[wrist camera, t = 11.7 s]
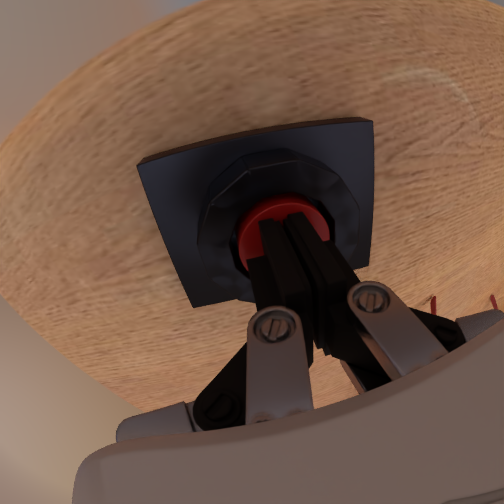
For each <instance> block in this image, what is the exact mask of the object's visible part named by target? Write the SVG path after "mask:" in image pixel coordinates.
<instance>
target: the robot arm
mask: <svg viewBox="0 0 504 504" xmlns="http://www.w3.org/2000/svg"><path fill="white" fill-rule="evenodd" d="M258 225H259V230H260V236H261V241H262V246H263V252H264V255H263V256H259V257H255V258H250V259H246V262H247V267H248V271H249V276H250V280H251V285H252V289H253V294H254V298H255V303H256V307H257V313H255V314H254V315H253V316H252V317H251V319H250V321H249V323H248V327H247V342H246V343H245V344H244V345H243V347H242V348H241V349H240V350H239V351H238V352H237V353H236V355H235V356H234V357H233V358H232V359H231V360H230V361H229V362H228V364H227V365H226V366H225V367H224V368H223V369H222V370H221V371H220V372H219V374H218V375H217V376H216V377H215V378H214V379H213V380H212V381H211V382H210V383H209V384H208V386H207V387H206V388H205V389H204V390H203V391H202V392H201V393H200V394H199V395H198V397H197V398H196V400H195V401H192V402H189V403H185V402H184V401H183V402H180V403H177V404H174V405H170V406H167V407H164V408H160V409H157V410H154V411H150V412H147V413H143V414H139V415H136V416H132V417H129V418H127V419H124V420H123V421H122V422H121V423H120V424H119V426H118V428H117V431H116V442H117V443H114V444H111V445H108V446H106V447H104V448H101V449H99V450H97V451H95V452H94V453H92V454H90V455H89V456H88V457H87V458H85V459H84V461H83V462H82V463H81V465H80V467H79V468H78V471H77V474H76V478H75V482H74V488H73V497H72V504H504V313H503V312H502V311H500V310H497V309H491V310H488V311H484V312H480V313H477V314H473V315H469V316H465V317H460V318H456V320H455V322H454V321H452V320H449V319H447V318H444V317H440V316H437V315H433V314H430V313H427V312H423V311H420V310H417V309H413V308H410V307H407V306H406V304H405V303H404V302H403V301H402V300H401V299H400V298H399V297H398V296H397V295H396V294H395V293H394V292H393V291H392V290H391V289H390V288H389V287H387V286H386V285H385V284H382V283H380V282H376V281H363V282H360V280H359V279H358V277H357V276H356V274H355V273H354V271H353V270H352V268H351V267H350V265H349V264H348V262H347V261H346V260H345V258H344V257H343V255H342V254H341V252H340V251H339V250H338V248H337V247H336V245H335V244H334V243H333V241H332V240H327V241H323V240H322V239H321V238H320V236H319V235H318V233H317V232H316V230H315V229H314V227H313V226H312V224H311V223H310V221H309V220H308V219H307V217H306V216H305V214H304V213H303V212H297V213H292V214H288V215H287V219H283V226H284V229H283V227H282V225H281V223H280V221H279V220H278V221H274V219H273V218H269V219H265V220H260V221H258ZM313 340H314V342H315V345H316V347H317V349H320V348H322V349H323V351H324V354H325V356H326V355H330V354H331V355H332V357H335V358H337V359H340V363H341V365H342V367H343V369H344V370H345V372H346V374H347V375H348V377H349V378H350V380H351V382H352V383H353V385H354V387H355V388H356V390H357V391H358V393H359V395H357V396H354V397H351V398H348V399H346V400H343V401H340V402H337V403H334V404H330V405H327V406H324V407H321V408H317V409H314V407H313V399H312V391H311V384H310V376H309V368H310V366H311V365H312V363H313Z"/></svg>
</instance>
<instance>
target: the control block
mask: <svg viewBox="0 0 504 504" xmlns="http://www.w3.org/2000/svg"><path fill="white" fill-rule="evenodd" d="M137 169H138V172H139V175H140V178H141V181H142V184H143V187H144V190H145V193H146V195H147V198H148V201H149V204H150V206H151V209H152V212H153V214H154V217H155V220H156V222H157V225H158V228H159V230H160V233H161V235H162V238H163V240H164V243H165V245H166V248H167V250H168V253H169V255H170V257H171V260H172V262H173V264H174V267H175V269H176V271H177V274H178V276H179V278H180V281H181V283H182V285H183V287H184V290H185V292H186V294H187V296H188V298H189V301H190V303H191V305H192V307H193V308H196V307H201V306H206V305H211V304H216V303H220V302H225V301H230V300H234V299H238V300H239V301H245V302H252V303H255V298H254V294H253V289H252V285H251V280H250V276H249V271H247V270H246V268H245V267H244V265H243V264H242V262H241V259H240V256H239V250H238V245H237V239H236V234H235V227H236V224H237V222H238V219H239V217H240V216H242V215H243V214H244V213H245V212H246V211H248V210H249V209H250V208H251V207H252V206H254V205H255V204H256V203H257V202H258V201H260V200H261V199H262V198H266V197H271V196H276V195H281V194H286V193H291V192H294V193H297V194H300V195H303V196H306V197H307V198H308V199H309V200H310V201H311V202H312V204H313V205H314V206H315V207H316V209H317V210H318V211H319V212H320V214H321V215H322V216H323V218H324V219H325V221H326V223H327V225H328V228H329V235H330V238H329V240H332V241H333V243H334V244H335V245H336V247H337V248H338V250H339V251H340V252H341V254H342V255H343V257H344V258H345V260H346V261H347V262H348V264H349V265H350V267H351V268H352V270H355V269H359V268H363V267H366V266H369V258H370V248H371V236H372V223H373V205H374V131H373V121H372V120H369V119H365V118H362V117H351V118H337V119H326V120H316V121H308V122H300V123H292V124H285V125H279V126H272V127H266V128H261V129H255V130H250V131H245V132H240V133H235V134H230V135H226V136H221V137H217V138H213V139H208V140H204V141H200V142H196V143H193V144H189V145H185V146H181V147H178V148H174V149H171V150H168V151H164V152H161V153H158V154H154V155H151V156H148V157H145V158H143V159H142V160H141V161H140V162H139V163H138V164H137Z"/></svg>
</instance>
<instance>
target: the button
mask: <svg viewBox="0 0 504 504" xmlns="http://www.w3.org/2000/svg"><path fill="white" fill-rule="evenodd" d="M297 212H303V213H304V214H305V216H306V217H307V219H308V220H309V221H310V223H311V224H312V226H313V227H314V229H315V230H316V232H317V233H318V235H319V236H320V238H321V239H322V240H323V241H327V240H329V238H330V235H329V228H328V225H327V223H326V221H325V219H324V218H323V216H322V215H321V214H320V212H319V211H318V210H317V209H316V207H315V206H314V205H313V204H312V202H311V201H310V200H309V199H308V198H307V197H306V196H303V195H300V194H297V193H294V192H291V193H286V194H281V195H276V196H271V197H266V198H262V199H261V200H260V201H258V202H257V203H256V204H255V205H254V206H252V207H251V208H250V209H249V210H248V211H246V212H245V213H244V214H243V215H242V216H240V217H239V219H238V222H237V224H236V227H235V234H236V239H237V245H238V250H239V256H240V259H241V262H242V264H243V265H244V267H245V268H246V270H247V271H248V267H247V262H246V259H250V258H255V257H259V256H263V255H264V252H263V246H262V241H261V236H260V230H259V225H258V221H260V220H265V219H269V218H273V219H274V221H278V220H279V221H280V223H281V225H282V227H283V229H284V226H283V219H287V215H288V214H292V213H297Z"/></svg>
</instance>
